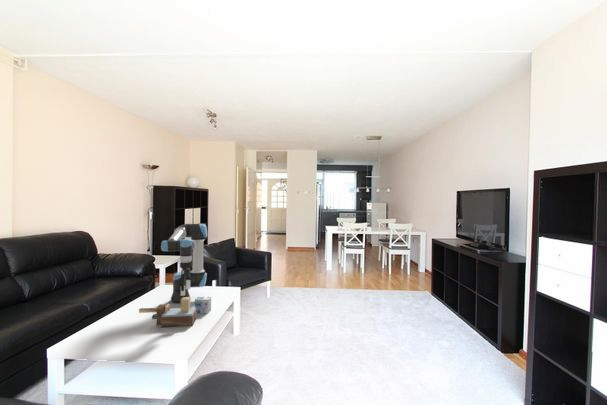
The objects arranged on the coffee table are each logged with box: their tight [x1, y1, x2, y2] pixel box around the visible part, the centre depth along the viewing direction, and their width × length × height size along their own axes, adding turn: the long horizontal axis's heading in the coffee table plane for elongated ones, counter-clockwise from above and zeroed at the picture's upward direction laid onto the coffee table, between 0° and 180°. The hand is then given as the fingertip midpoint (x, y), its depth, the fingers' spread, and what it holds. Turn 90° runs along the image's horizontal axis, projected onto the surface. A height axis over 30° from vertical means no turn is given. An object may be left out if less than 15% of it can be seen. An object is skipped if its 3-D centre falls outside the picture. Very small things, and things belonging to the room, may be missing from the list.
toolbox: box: [156, 303, 197, 328], centre depth 200 cm, size 12×24×12 cm, turn 98°
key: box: [138, 307, 157, 314], centre depth 198 cm, size 2×14×2 cm, turn 98°
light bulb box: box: [194, 295, 212, 315], centre depth 221 cm, size 11×7×11 cm, turn 88°
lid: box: [162, 296, 196, 317], centre depth 201 cm, size 12×19×10 cm, turn 98°
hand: (185, 292), depth 201 cm, fingers open, 13 cm apart
